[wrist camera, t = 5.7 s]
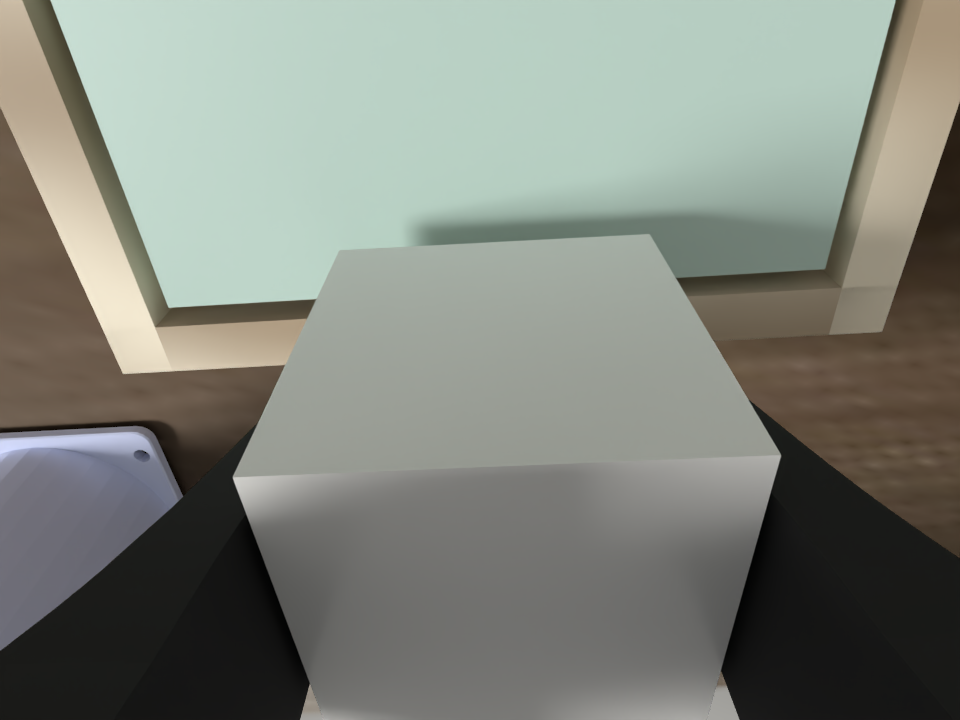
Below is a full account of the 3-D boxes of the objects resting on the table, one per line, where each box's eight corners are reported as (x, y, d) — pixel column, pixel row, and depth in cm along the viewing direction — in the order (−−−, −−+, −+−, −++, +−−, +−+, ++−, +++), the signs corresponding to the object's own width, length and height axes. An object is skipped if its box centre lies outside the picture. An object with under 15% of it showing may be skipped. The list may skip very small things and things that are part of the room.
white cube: (626, 465, 12) (702, 734, 8) (382, 475, 12) (332, 745, 8) (649, 233, 10) (781, 455, 5) (339, 250, 10) (231, 478, 6)
